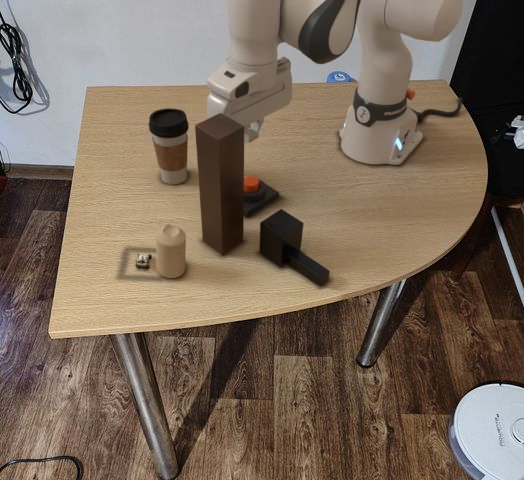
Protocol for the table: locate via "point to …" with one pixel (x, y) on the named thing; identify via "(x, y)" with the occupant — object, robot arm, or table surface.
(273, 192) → the switch plate
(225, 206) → the post
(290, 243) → the black hammer
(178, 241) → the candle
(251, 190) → the switch button
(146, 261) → the toy car
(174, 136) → the coffee cup
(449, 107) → the table surface
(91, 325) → the table surface
